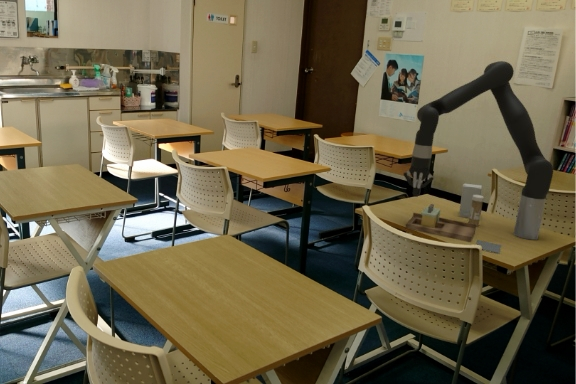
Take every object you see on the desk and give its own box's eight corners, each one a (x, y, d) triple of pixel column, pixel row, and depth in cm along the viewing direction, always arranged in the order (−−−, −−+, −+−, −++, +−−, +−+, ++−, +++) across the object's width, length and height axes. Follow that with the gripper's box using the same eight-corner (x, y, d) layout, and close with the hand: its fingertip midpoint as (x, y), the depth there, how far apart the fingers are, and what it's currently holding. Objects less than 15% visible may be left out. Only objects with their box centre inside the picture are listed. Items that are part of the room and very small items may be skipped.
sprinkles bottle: (477, 228, 223) (482, 198, 220) (466, 225, 226) (471, 196, 222) (479, 225, 227) (484, 195, 224) (468, 223, 229) (473, 193, 226)
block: (434, 227, 218) (437, 214, 216) (432, 231, 213) (434, 217, 212) (423, 225, 220) (424, 212, 218) (420, 228, 215) (422, 214, 214)
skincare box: (477, 216, 241) (483, 185, 237) (476, 219, 235) (482, 188, 231) (459, 213, 244) (464, 182, 240) (457, 216, 238) (462, 185, 234)
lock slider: (438, 221, 221) (441, 203, 218) (433, 227, 211) (436, 209, 209) (424, 218, 223) (427, 201, 221) (419, 224, 214) (421, 206, 212)
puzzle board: (474, 233, 216) (476, 224, 214) (470, 243, 204) (472, 233, 203) (412, 221, 226) (413, 212, 225) (405, 229, 215) (406, 220, 214)
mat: (501, 245, 204) (501, 244, 204) (499, 253, 195) (499, 252, 195) (474, 240, 208) (474, 239, 208) (471, 247, 199) (471, 246, 199)
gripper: (439, 156, 213) (433, 197, 218) (408, 151, 218) (402, 191, 223) (436, 159, 207) (429, 201, 211) (403, 154, 212) (397, 195, 217)
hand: (415, 196), depth 217 cm, fingers closed
